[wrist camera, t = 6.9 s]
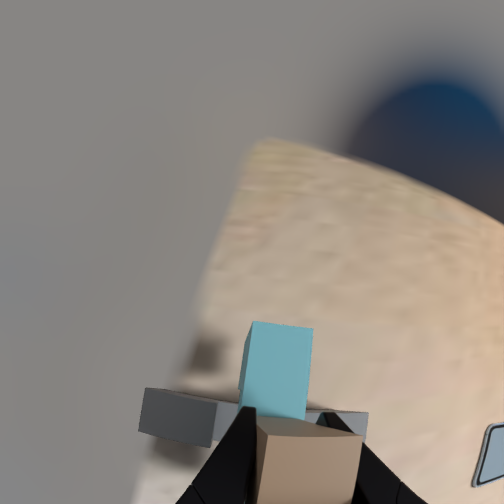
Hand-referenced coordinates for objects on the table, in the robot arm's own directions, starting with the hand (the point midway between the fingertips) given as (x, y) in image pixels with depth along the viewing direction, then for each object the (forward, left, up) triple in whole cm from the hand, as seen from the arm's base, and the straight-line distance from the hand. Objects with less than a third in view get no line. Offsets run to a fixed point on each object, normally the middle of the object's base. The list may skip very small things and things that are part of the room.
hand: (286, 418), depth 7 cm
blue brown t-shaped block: (-1, -1, -7) cm, 7 cm away
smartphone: (+16, -28, -11) cm, 34 cm away
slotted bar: (-1, -1, -11) cm, 11 cm away
